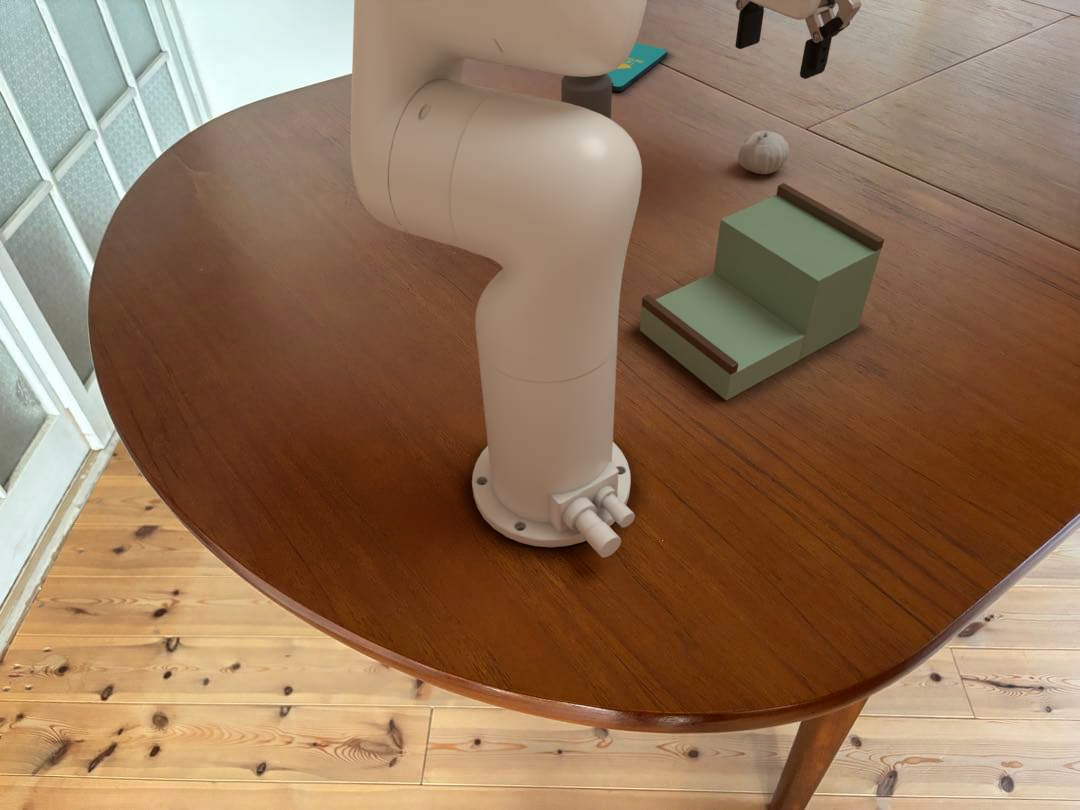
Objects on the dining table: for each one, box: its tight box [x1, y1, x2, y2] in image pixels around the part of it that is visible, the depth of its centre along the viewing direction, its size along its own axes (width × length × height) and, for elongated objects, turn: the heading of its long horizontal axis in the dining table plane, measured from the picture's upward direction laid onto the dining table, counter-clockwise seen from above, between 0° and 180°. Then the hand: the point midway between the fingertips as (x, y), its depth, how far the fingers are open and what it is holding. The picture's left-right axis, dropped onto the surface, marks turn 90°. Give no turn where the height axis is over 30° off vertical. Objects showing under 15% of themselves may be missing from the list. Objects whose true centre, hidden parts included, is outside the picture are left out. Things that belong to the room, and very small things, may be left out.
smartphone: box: [607, 42, 669, 92], centre depth 125 cm, size 7×1×15 cm
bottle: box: [560, 73, 613, 120], centre depth 100 cm, size 6×6×15 cm
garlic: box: [738, 129, 790, 175], centre depth 102 cm, size 6×5×5 cm
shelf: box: [639, 182, 885, 401], centre depth 79 cm, size 12×17×10 cm
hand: (778, 59), depth 94 cm, fingers open, 9 cm apart
